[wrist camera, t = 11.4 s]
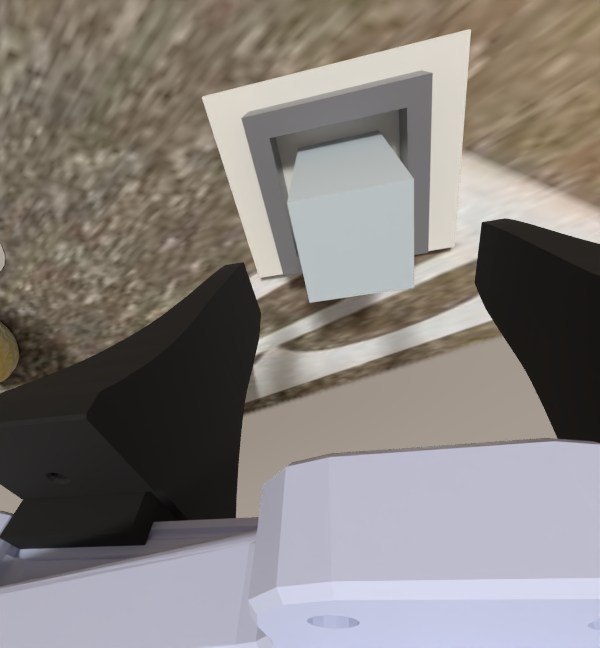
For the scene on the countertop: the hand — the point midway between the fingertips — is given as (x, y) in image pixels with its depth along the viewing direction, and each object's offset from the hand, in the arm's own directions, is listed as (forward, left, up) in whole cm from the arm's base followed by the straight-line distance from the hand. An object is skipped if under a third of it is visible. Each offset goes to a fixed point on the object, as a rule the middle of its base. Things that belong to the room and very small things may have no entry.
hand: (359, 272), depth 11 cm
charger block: (0, 0, -10) cm, 10 cm away
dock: (0, 0, -10) cm, 10 cm away
